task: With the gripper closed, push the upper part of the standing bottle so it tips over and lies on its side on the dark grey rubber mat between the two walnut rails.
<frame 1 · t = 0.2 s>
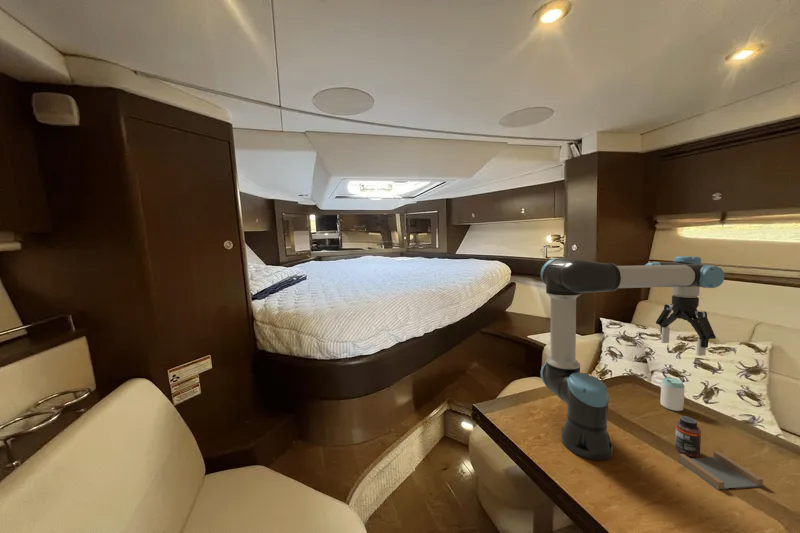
hand: (681, 348, 114), 28 cm above the table, fingers open, 13 cm apart
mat: (718, 472, 87), on the table
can: (671, 407, 121), on the table
supplement bottle: (686, 452, 96), on the table
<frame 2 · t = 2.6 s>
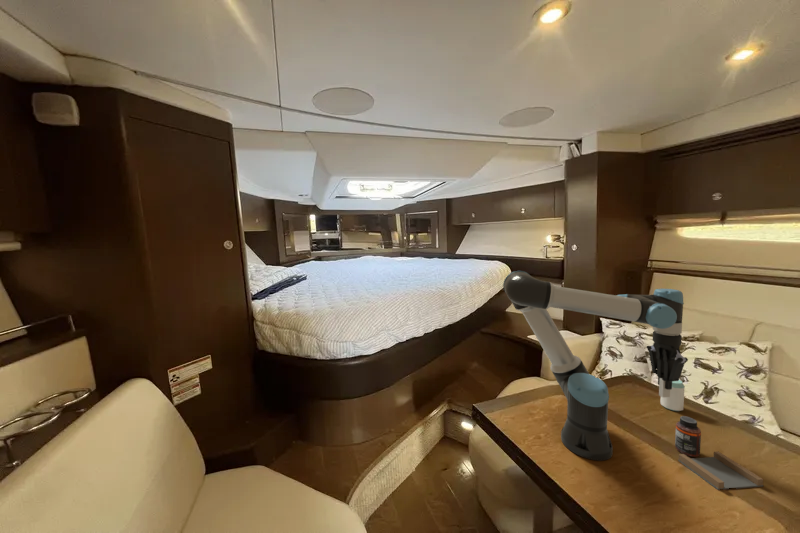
hand: (664, 396, 104), 14 cm above the table, fingers closed
nothing on the table moved.
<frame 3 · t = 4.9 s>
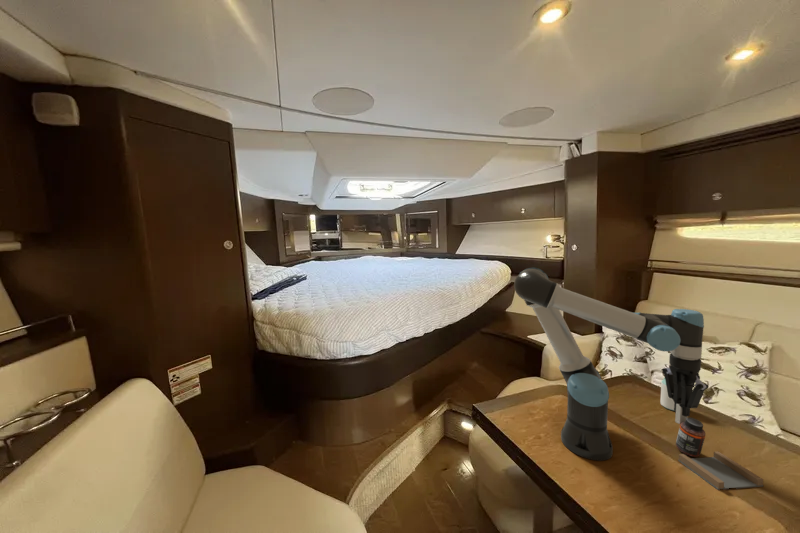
hand: (681, 422, 98), 8 cm above the table, fingers closed
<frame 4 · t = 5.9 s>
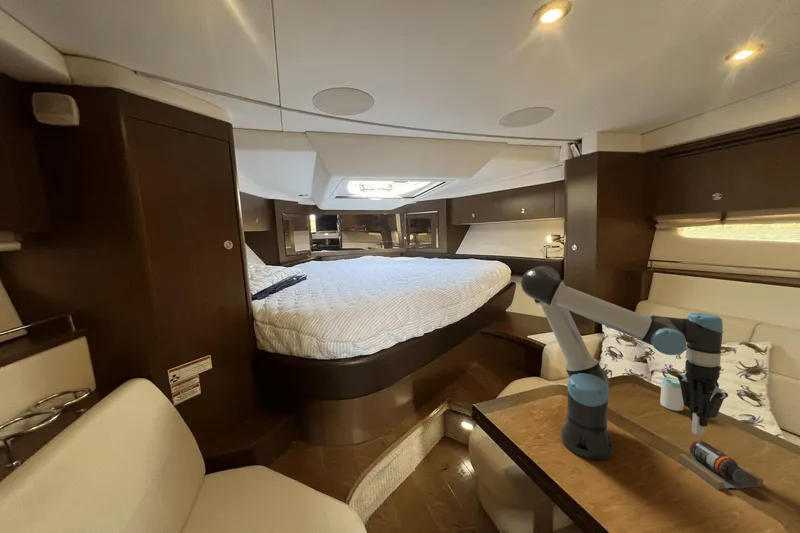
hand: (697, 433, 93), 8 cm above the table, fingers closed
supplement bottle: (696, 447, 93), point 3 cm above the table, touching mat
everything else where it was.
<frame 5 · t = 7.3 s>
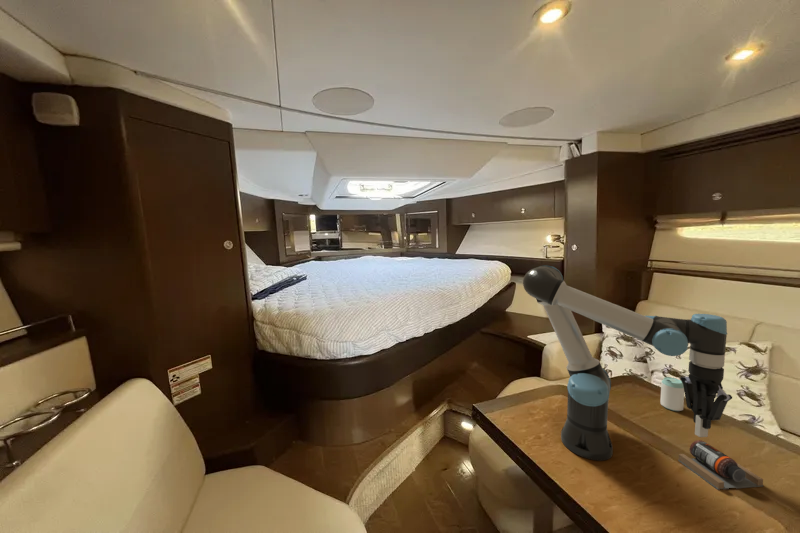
hand: (701, 435, 92), 8 cm above the table, fingers closed
nothing on the table moved.
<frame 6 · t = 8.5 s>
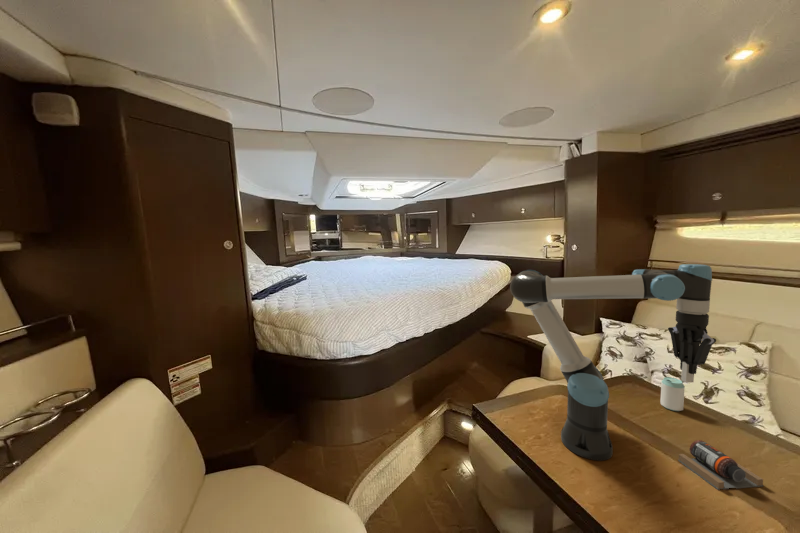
hand: (687, 381, 95), 24 cm above the table, fingers closed
nothing on the table moved.
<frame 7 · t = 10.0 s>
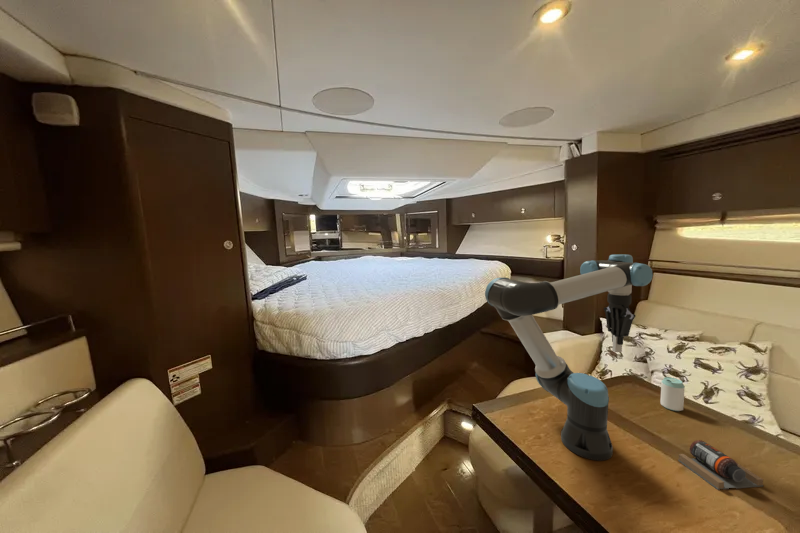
hand: (617, 351, 115), 26 cm above the table, fingers closed
nothing on the table moved.
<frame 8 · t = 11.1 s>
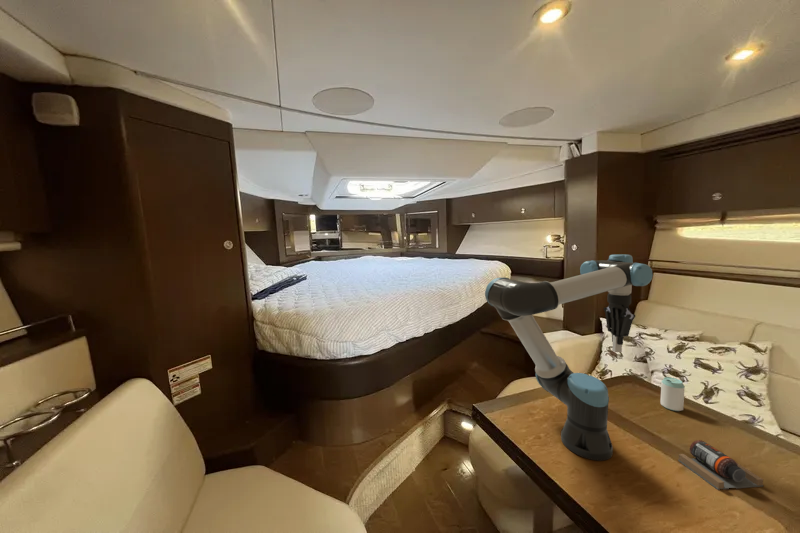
hand: (616, 351, 116), 26 cm above the table, fingers closed
nothing on the table moved.
at the end: supplement bottle tilted 90°; supplement bottle inside the target area (5.5 cm from its centre), point 3.4 cm above the table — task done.
